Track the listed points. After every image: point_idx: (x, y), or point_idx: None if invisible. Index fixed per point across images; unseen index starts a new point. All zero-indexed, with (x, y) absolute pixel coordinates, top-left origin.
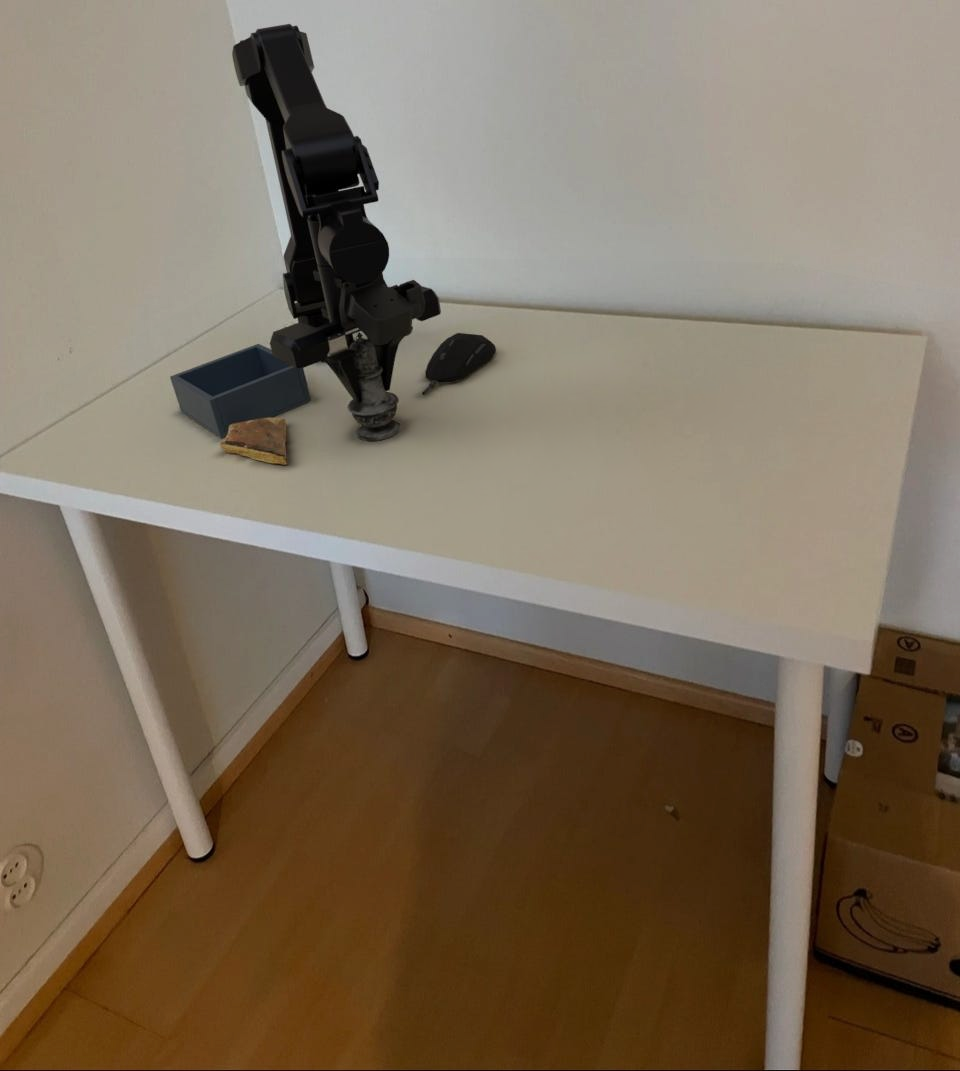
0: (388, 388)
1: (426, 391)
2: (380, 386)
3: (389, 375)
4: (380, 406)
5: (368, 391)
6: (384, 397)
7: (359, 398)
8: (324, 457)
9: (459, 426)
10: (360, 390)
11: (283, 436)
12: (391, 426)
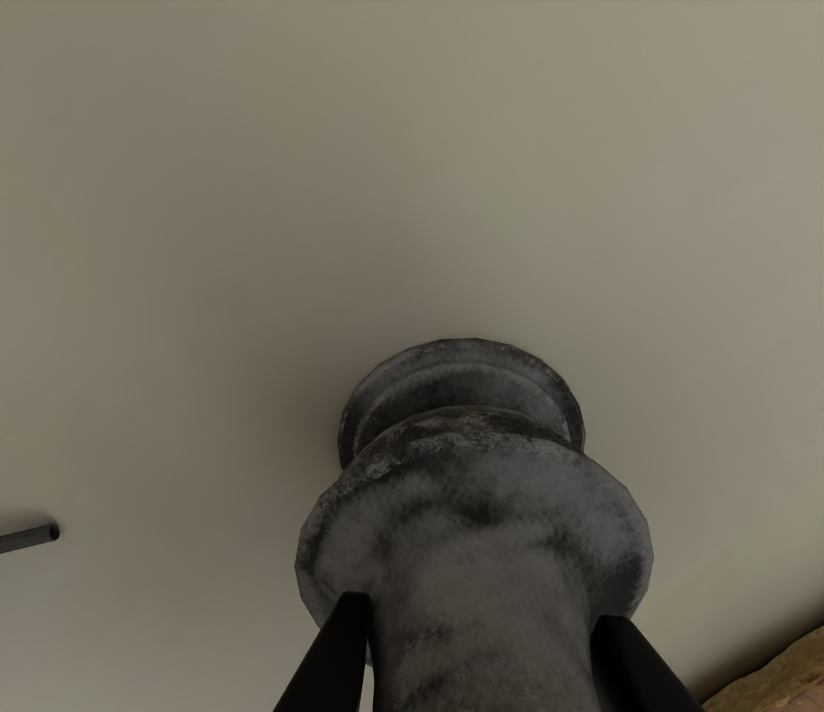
0: (355, 600)
1: (29, 532)
2: (456, 639)
3: (320, 695)
4: (523, 494)
5: (569, 653)
6: (447, 544)
7: (632, 642)
8: (806, 465)
9: (113, 56)
10: (640, 698)
11: (813, 693)
12: (419, 405)
